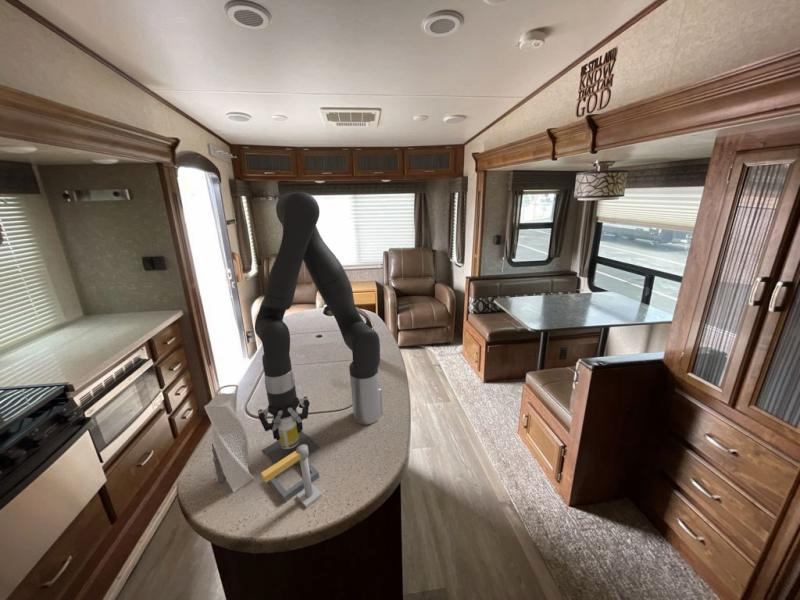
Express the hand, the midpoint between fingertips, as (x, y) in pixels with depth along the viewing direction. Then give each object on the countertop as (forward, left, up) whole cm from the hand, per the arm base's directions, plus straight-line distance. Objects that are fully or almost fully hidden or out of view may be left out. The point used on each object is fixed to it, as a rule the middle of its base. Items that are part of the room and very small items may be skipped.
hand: (288, 434), depth 91 cm
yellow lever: (+9, +18, +8) cm, 22 cm away
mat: (0, 0, -5) cm, 5 cm away
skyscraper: (+15, -1, -6) cm, 16 cm away
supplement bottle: (0, 0, -3) cm, 3 cm away
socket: (+5, +13, -5) cm, 15 cm away
